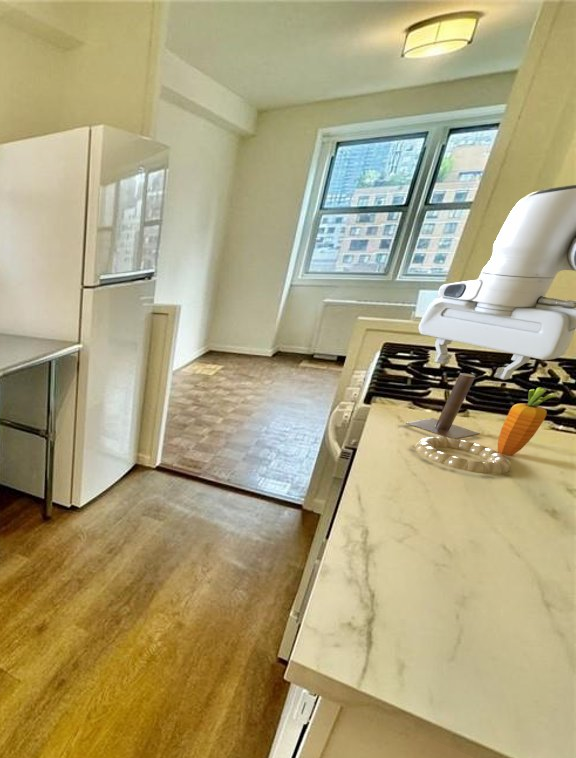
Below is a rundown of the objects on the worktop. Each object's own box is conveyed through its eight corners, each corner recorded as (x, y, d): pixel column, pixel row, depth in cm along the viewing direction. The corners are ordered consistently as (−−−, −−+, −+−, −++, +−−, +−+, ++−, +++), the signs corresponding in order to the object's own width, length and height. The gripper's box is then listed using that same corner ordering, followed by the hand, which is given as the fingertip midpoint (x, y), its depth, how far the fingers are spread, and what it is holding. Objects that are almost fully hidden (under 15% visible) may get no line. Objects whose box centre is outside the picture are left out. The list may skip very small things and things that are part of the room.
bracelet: (523, 473, 90) (530, 460, 89) (476, 485, 86) (484, 471, 85) (440, 443, 102) (446, 431, 100) (395, 452, 98) (401, 440, 96)
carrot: (494, 452, 98) (532, 381, 91) (525, 463, 94) (568, 390, 87) (478, 455, 97) (516, 384, 90) (509, 467, 92) (551, 393, 86)
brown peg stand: (476, 439, 103) (508, 379, 97) (449, 445, 101) (480, 383, 95) (429, 423, 111) (456, 367, 105) (403, 428, 108) (428, 370, 102)
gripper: (604, 302, 75) (554, 386, 81) (453, 283, 92) (421, 354, 98) (579, 304, 73) (531, 390, 79) (430, 284, 90) (400, 356, 97)
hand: (469, 370), depth 89 cm, fingers open, 8 cm apart
